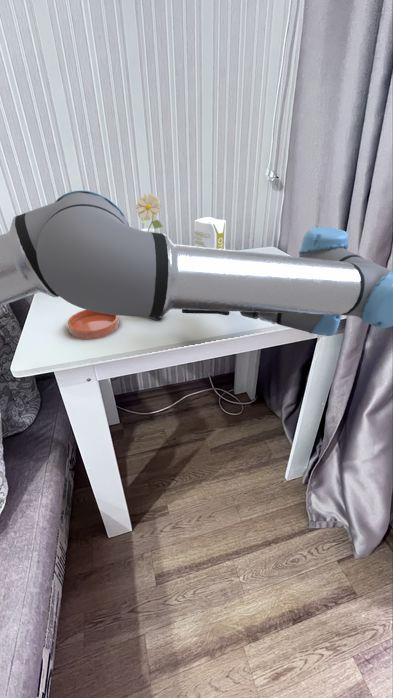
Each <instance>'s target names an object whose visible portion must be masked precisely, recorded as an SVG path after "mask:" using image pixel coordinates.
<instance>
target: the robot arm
mask: <svg viewBox="0 0 393 698" xmlns="http://www.w3.org/2000/svg"><path fill="white" fill-rule="evenodd" d="M349 242H350V236H349V234H348V232H347V231H345V230H343V229H339V228H336V227H335V228H334V227H326V226H325V227H322V226H321V227H314V228H310V229H308V230H307V231H306V232H305V233H304V234H303V237H302V241H301V246H300V250H299V251H298V256H292V255H284V254H274V253H273V254H272V253H263V252H255V251H245V250H234V249H227V248H225V249H216V248H207V247H197V246H195V245H186V244H176V243H175V244H174V242H173V241H172V240H171V239H170V237H168V235H167V234H166V233H159V232H147V231H142V230H141V229H138V228H135V227H132V226H130V223H129V222H128V220H127V218H126V216H125V214H124V213H123V211H122V210H121V209H120V208H119V206H118V205H116V203H114V202H113V201H112V200H111V199H109V198H108V197H106V196H105V195H102V194H100V193H97V192H94V191H90V190H82V189H81V190H80V189H79V190H72V191H69V192H66V193H64V194H62V195H61V196H60V197H58V198H57V199H56V200H55V201H54V202H52V203H49V204H46V205H43V206H41V207H38V208H35V209H32V210H29V211H27V212H24V213H21V214H18V215H16V216H13V218H12V221H11V225H10V227H9V231H8V232H6V233H3V234H0V307H2V306H5V305H9V304H10V303H13V302H16V301H19V300H21V299H22V300H23V299H25V298H27V297H30V296H33V295H36V294H39V293H42V294H45V295H48V296H49V297H50V296H51V297H53V298H59V297H60V298H61V299H62V300H64V301H65V302H67V303H69V304H71V305H72V306H75V307H78V308H80V309H83V310H89V311H94V312H98V313H104V314H111V315H118V317H133V318H149V317H162V318H163V317H164V316H165V315H166V314H167V313H168V312H170V310H181V313H182V314H199V315H200V314H203V315H205V314H207V315H220V316H221V315H223V316H230V312H239V313H240V315H241V316H242V317H245V318H249V319H253V320H258V319H259V320H260V321H262V322H266V323H271V324H272V325H278V326H282V327H287V328H290V329H294V330H298V331H301V332H306V333H309V334H310V335H311V334H313V335H319V336H326V337H332V336H334V335H335V334H337V331H338V328H339V326H340V322H341V320H342V317H343V316H348V317H349V316H350V317H358V318H360V319H361V321H362V322H364V323H365V324H369V325H371V326H372V327H374V328H378V329H387V328H391V327H393V270H392V269H389V268H387V267H384V266H382V265H381V264H378V263H375V262H373V261H371V260H369V259H366V258H364V257H362V256H361V255H359V254H356V253H354V252H353V251H350V250H348V249H349V244H350V243H349Z"/></svg>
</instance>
